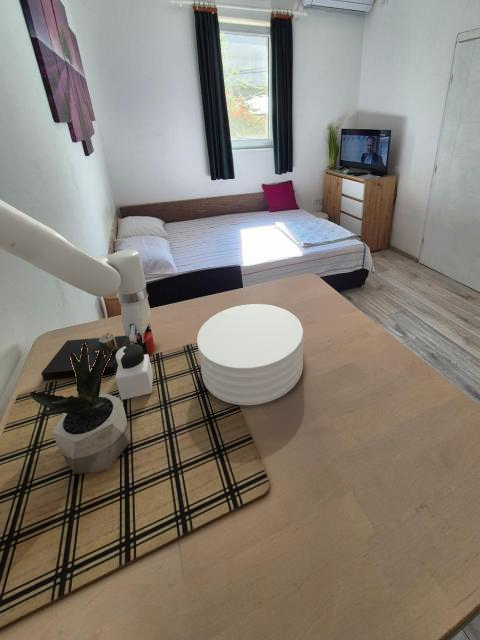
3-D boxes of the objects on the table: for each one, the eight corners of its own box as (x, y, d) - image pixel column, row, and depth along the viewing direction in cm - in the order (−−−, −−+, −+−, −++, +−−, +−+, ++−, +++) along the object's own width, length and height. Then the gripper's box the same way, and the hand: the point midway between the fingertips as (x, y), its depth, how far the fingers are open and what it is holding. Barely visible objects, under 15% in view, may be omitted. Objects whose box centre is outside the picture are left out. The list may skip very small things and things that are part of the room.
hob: (43, 380, 87) (40, 372, 86) (69, 347, 100) (66, 339, 99) (118, 373, 89) (116, 365, 88) (134, 341, 102) (132, 334, 101)
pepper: (134, 356, 95) (129, 338, 93) (139, 345, 100) (135, 327, 97) (152, 355, 96) (148, 336, 93) (156, 344, 101) (153, 326, 98)
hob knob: (115, 354, 93) (111, 340, 91) (100, 356, 92) (96, 342, 90) (119, 345, 96) (115, 332, 94) (105, 347, 96) (101, 333, 94)
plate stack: (214, 421, 74) (209, 383, 70) (194, 349, 98) (189, 317, 94) (321, 383, 85) (322, 347, 80) (279, 326, 108) (278, 296, 104)
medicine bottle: (153, 374, 89) (145, 338, 84) (151, 393, 82) (143, 355, 78) (124, 380, 87) (114, 344, 82) (121, 401, 80) (110, 362, 76)
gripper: (128, 280, 98) (140, 330, 105) (106, 311, 82) (122, 367, 89) (154, 279, 99) (164, 328, 106) (137, 309, 83) (150, 365, 90)
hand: (144, 346), depth 97 cm, fingers closed on pepper, 5 cm apart
